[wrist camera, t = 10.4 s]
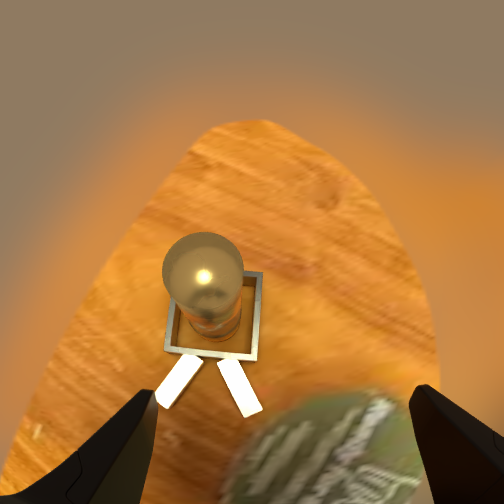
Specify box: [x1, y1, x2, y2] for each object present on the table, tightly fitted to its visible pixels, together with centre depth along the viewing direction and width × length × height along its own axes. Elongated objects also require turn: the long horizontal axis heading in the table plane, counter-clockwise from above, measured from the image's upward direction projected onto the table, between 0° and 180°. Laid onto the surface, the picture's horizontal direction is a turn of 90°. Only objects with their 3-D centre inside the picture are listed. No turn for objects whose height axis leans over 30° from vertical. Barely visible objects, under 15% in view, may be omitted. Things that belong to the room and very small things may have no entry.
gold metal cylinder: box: [162, 232, 244, 342], centre depth 19 cm, size 4×4×11 cm
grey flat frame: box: [155, 271, 263, 418], centre depth 22 cm, size 11×8×2 cm
